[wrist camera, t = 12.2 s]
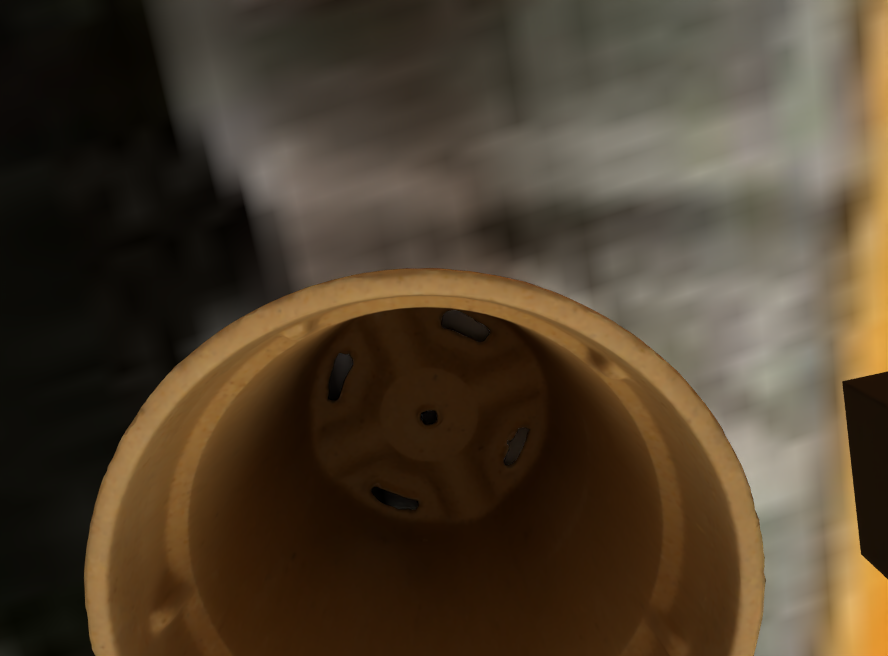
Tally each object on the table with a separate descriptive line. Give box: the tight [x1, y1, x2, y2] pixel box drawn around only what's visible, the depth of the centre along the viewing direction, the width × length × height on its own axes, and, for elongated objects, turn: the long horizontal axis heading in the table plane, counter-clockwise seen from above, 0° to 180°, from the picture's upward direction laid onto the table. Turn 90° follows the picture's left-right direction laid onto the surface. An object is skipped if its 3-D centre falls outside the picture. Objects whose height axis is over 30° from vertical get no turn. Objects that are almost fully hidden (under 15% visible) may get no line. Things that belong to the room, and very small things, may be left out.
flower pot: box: [84, 268, 766, 656], centre depth 15 cm, size 9×9×9 cm
